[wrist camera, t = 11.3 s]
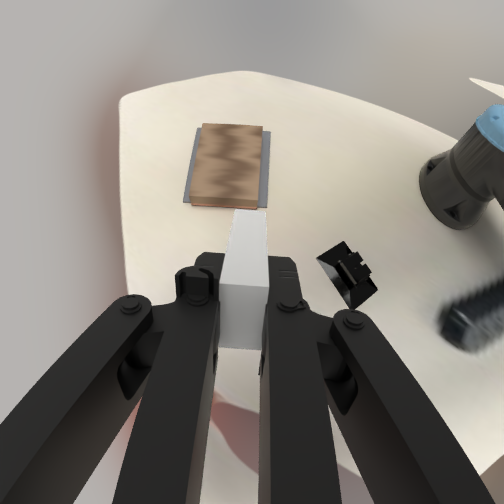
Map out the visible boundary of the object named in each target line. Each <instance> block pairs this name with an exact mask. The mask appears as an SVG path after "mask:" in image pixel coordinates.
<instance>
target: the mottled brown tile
mask: <svg viewBox="0 0 504 504" xmlns="http://www.w3.org/2000/svg"><path fill="white" fill-rule="evenodd" d="M262 129H263V126H251V125H234V124H208V123H203V124H202V129H201V134H200V139H199V144H198V149H197V154H196V159H195V164H194V169H193V175H192V180H191V186H190V192H189V198H190V201H191V204H192V205H203V206H219V207H235V208H249V209H257V203H258V190H259V175H260V160H261V144H262Z"/></svg>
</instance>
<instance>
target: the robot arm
mask: <svg viewBox="0 0 504 504" xmlns="http://www.w3.org/2000/svg"><path fill="white" fill-rule="evenodd" d="M419 182H420V189H421V192H422V195H423V198H424V200H425V202H426V204H427V206H428V207H429V209H430V210H431V211H432V213H433V214H434V215H435V216H436V217H437V218H438V219H439V220H440V221H441V222H442V223H444V224H445V225H447V226H449V227H451V228H454V229H460V230H461V229H466V228H468V227H470V226H471V225H473V224H474V223H476V222H477V221H478V219H479V218H480V216H481V215H482V213H483V212H484V210H485V208H486V207H487V205H488V203H489V202H490V201H491V200H492V199H494V198H496V199H497V201H498V202H499V204H500V205H501V207H502V209H503V210H504V105H498V104H495V105H492V106H490V107H489V108H488V109H487V110H486V111H485V112H484V113H483V114H482V115H480V116H479V117H478V118H477V119H476V122H475V123H474V124H473V126H472V127H471V128H470V129H469V130H468V131H467V132H466V134H465V135H464V136H463V137H462V138H461V139H460V140H459V141H458V142H457V143H456V145H455V146H454V147H453V148H452V149H450V150H448V151H446V152H443V153H441V154H439V155H436V156H434V157H432V158H431V159H429V160H428V162H427V163H426V164H425V165H424V166H423V167H422V169H421V172H420V177H419ZM175 283H176V296H177V298H176V300H175V302H172V303H169V304H164V305H156V306H152V305H151V302H150V300H149V299H148V298H146V297H144V296H142V295H136V294H133V295H126V296H123V297H120V298H119V299H117V300H116V301H114V302H113V303H112V304H111V305H110V306H109V307H108V308H107V309H106V310H105V311H104V312H103V313H102V314H101V315H100V316H99V317H98V318H97V319H96V320H95V321H94V322H93V323H92V324H91V325H90V326H89V327H88V328H87V329H86V330H85V331H84V333H82V334H81V335H80V337H79V338H78V339H77V340H76V341H75V342H74V343H73V344H72V345H71V346H70V347H69V348H68V349H67V350H66V351H65V352H64V353H63V354H62V355H61V356H60V358H59V359H58V360H57V361H56V362H55V363H54V364H53V365H52V366H51V367H50V368H49V369H48V371H47V372H46V373H45V374H44V375H43V376H42V377H41V378H40V379H39V380H38V381H37V383H36V384H35V385H34V386H33V387H32V388H31V389H30V390H29V392H28V393H27V394H26V395H25V396H24V397H23V398H22V400H21V401H20V402H19V403H18V404H17V405H16V406H15V408H14V409H13V410H12V411H11V412H10V414H9V415H8V416H7V417H6V418H5V420H4V421H3V422H2V423H1V424H0V504H73V503H74V501H75V500H76V498H77V497H78V495H79V493H80V492H81V490H82V489H83V487H84V485H85V484H86V482H87V481H88V479H89V477H90V476H91V475H92V473H93V471H94V470H95V468H96V466H97V465H98V463H99V462H100V460H101V459H102V457H103V456H104V454H105V453H106V451H107V450H108V448H109V446H110V445H111V443H112V442H113V440H114V439H115V437H116V436H117V434H118V432H119V431H120V429H121V428H122V426H123V425H124V423H125V421H126V420H127V419H128V417H129V416H130V414H131V412H132V411H133V409H134V408H135V406H136V405H137V403H138V402H139V400H140V399H141V397H142V400H141V403H140V406H139V409H138V412H137V415H136V419H135V422H134V425H133V429H132V432H131V436H130V439H129V442H128V446H127V449H126V453H125V457H124V460H123V464H122V468H121V471H120V475H119V479H118V482H117V487H116V490H115V494H114V498H113V502H112V504H199V503H200V494H201V486H202V477H203V469H204V460H205V452H206V444H207V436H208V428H209V421H210V413H211V405H212V398H213V390H214V383H215V376H216V368H217V361H218V344H219V347H224V348H236V349H251V350H261V347H262V352H261V359H260V366H259V374H258V375H260V429H259V488H258V504H342V500H341V492H340V485H339V476H338V470H337V462H336V455H335V448H334V441H333V434H332V428H331V422H330V415H329V409H328V405H329V408H330V410H331V412H332V414H333V416H334V418H335V420H336V422H337V425H338V427H339V429H340V431H341V433H342V435H343V437H344V439H345V442H346V444H347V446H348V448H349V450H350V452H351V454H352V457H353V459H354V461H355V463H356V465H357V467H358V469H359V471H360V474H361V476H362V478H363V480H364V482H365V484H366V486H367V488H368V491H369V493H370V495H371V497H372V499H373V501H374V504H495V502H494V500H493V499H492V497H491V495H490V493H489V492H488V490H487V488H486V486H485V485H484V483H483V481H482V480H481V478H480V476H479V475H478V473H477V471H476V470H475V468H474V467H473V465H472V463H471V462H470V460H469V458H468V457H467V455H466V454H465V452H464V451H463V449H462V447H461V446H460V444H459V443H458V441H457V440H456V438H455V437H454V435H453V433H452V432H451V430H450V429H449V427H448V426H447V424H446V423H445V421H444V420H443V418H442V417H441V415H440V414H439V412H438V411H437V409H436V408H435V407H434V405H433V404H432V402H431V401H430V399H429V398H428V396H427V395H426V393H425V392H424V391H423V389H422V388H421V386H420V385H419V383H418V382H417V381H416V379H415V378H414V376H413V375H412V374H411V372H410V371H409V369H408V368H407V367H406V365H405V364H404V363H403V361H402V360H401V358H400V357H399V356H398V354H397V353H396V352H395V350H394V349H393V348H392V346H391V345H390V343H389V342H388V341H387V339H386V338H385V337H384V335H383V334H382V333H381V331H380V330H379V329H378V328H377V326H376V325H375V324H374V322H373V321H372V320H371V319H370V318H369V317H368V316H367V315H366V314H364V313H362V312H360V311H357V310H353V309H344V310H340V311H338V312H337V313H336V314H335V315H334V318H330V317H326V316H323V315H320V314H317V313H315V312H313V311H311V310H310V307H309V305H308V303H307V302H306V301H305V300H304V299H303V298H302V293H301V288H300V283H299V279H298V273H297V267H296V264H295V263H294V262H293V260H292V259H291V258H290V257H278V256H268V250H267V230H266V211H256V210H243V209H235V211H234V216H233V220H232V225H231V230H230V234H229V239H228V244H227V248H226V253H225V254H224V253H211V252H203V253H202V254H201V255H200V256H198V257H197V259H196V262H195V264H194V266H190V267H185V268H183V269H181V270H179V271H178V272H177V273H176V274H175Z"/></svg>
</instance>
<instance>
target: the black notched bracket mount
mask: <svg viewBox="0 0 504 504" xmlns="http://www.w3.org/2000/svg"><path fill="white" fill-rule="evenodd" d="M316 259H317V260H318V262H319V263H320V265H321V266H322V268H323V269H324V271H325V272H326V274H327V275H328V277H329V278H330V280H331V281H332V283H333V284H334V286H335V287H336V289H337V290H338V292H339V293H340V295H341V296H342V298H343V299H344V301H345V302H346V304H347V306H348V307H349V309H353V310H355V309H356V308H357V307H359V306H360V305H361V304H362V303H363V302H365V301H366V300H367V299H368V298H369V297H370V296H372V295H373V294H374V293H375V292H376V291H377V290H378V289H377V287H376V286H375V284H374V283H373V281H372V280H371V278H370V277H369V276H370V273H372V272H371V270H370V269H369V268H368V266H367V265H366V264H364V265H363V266H362V265H361V264H360V263H361V262H362V261H363V259H362V257H361V256H360V255H359V253H358V252H356V253H354V252H353V253H352V251H351V250H350V249H349V247H348V246H347V244H346V243H345V242H344V241H342V242H341V243H339V244H338V245H336V246H334V247H333V248H331V249H330V250H328V251H326V252H325V253H323V254H322V255H320V256H318V257H317V258H316Z"/></svg>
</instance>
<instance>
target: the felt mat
mask: <svg viewBox="0 0 504 504" xmlns="http://www.w3.org/2000/svg"><path fill="white" fill-rule="evenodd" d="M201 129H202V128H197V132H196V136H195V141H194V146H193V151H192V156H191V160H190V166H189V171H188V176H187V181H186V187H185V192H184V198H183V202H185V203H191V201H190V198H189V192H190V186H191V180H192V175H193V169H194V164H195V159H196V154H197V149H198V144H199V139H200V134H201ZM270 133H271V132H269V131H262V144H261V160H260V175H259V190H258V203H257V207H263V208H267V196H268V176H269V155H270Z"/></svg>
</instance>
